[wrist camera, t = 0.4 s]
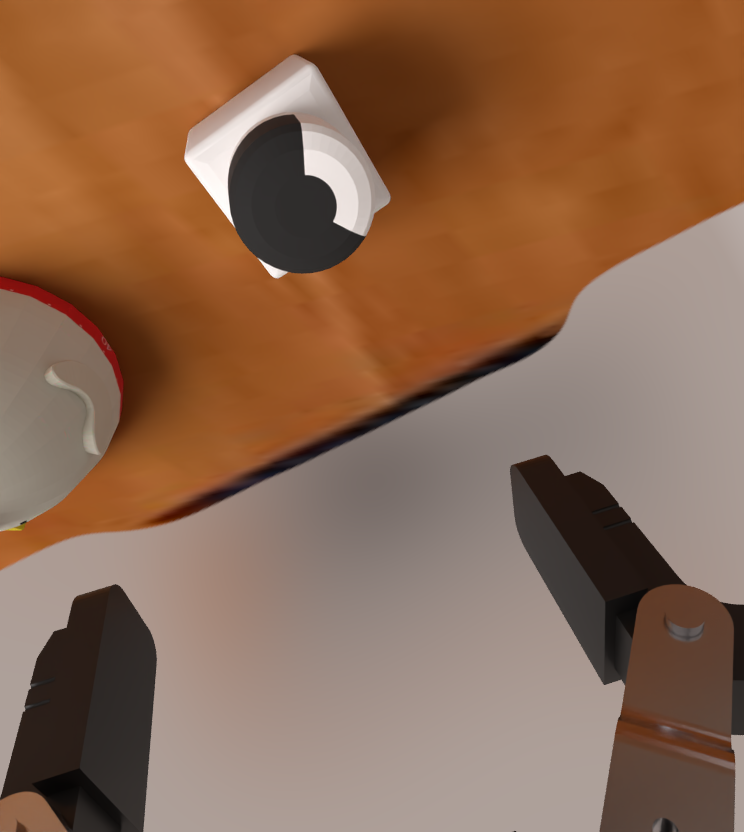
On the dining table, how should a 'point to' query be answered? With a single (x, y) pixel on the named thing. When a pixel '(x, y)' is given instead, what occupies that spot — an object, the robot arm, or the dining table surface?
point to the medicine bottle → (288, 170)
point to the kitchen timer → (50, 400)
